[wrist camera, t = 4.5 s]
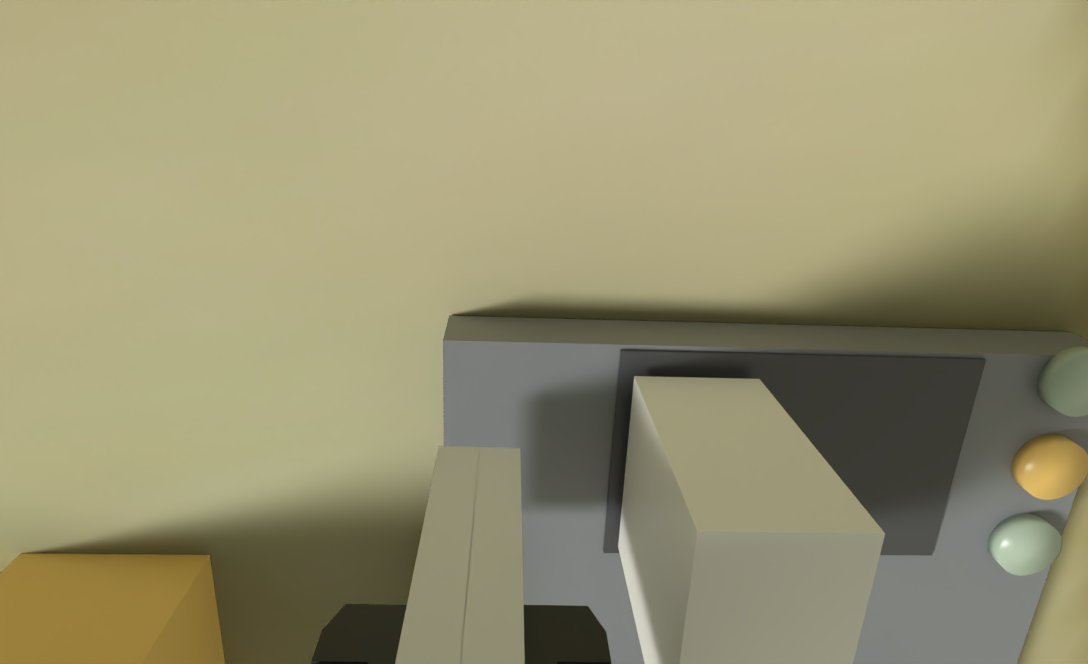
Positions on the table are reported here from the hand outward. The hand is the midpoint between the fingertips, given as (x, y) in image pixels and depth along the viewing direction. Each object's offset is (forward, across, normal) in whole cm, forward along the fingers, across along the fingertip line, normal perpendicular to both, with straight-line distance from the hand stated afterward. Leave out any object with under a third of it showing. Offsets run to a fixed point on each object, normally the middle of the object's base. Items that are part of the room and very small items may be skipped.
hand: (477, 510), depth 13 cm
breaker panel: (+3, +6, -8) cm, 10 cm away
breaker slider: (+2, +4, 0) cm, 5 cm away
